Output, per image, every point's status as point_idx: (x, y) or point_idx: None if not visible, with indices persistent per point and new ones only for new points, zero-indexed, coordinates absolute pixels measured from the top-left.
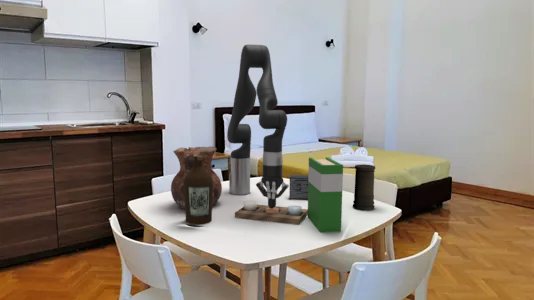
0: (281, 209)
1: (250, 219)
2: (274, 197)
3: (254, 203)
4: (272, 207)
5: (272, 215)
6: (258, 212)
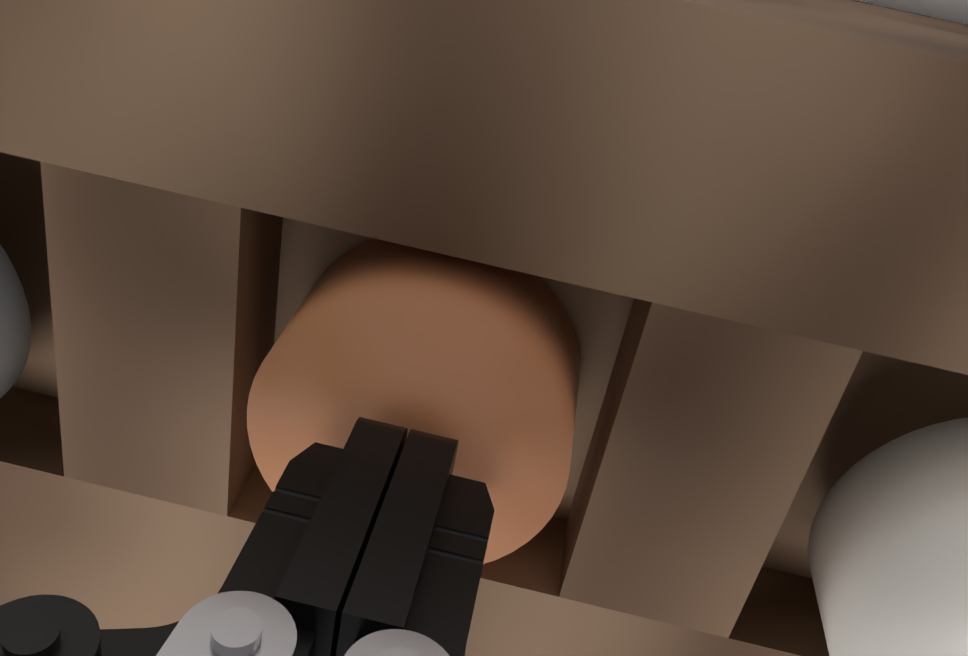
0: (238, 527)
1: (959, 32)
2: (187, 628)
3: (901, 636)
4: (366, 423)
5: (323, 27)
6: (752, 269)
